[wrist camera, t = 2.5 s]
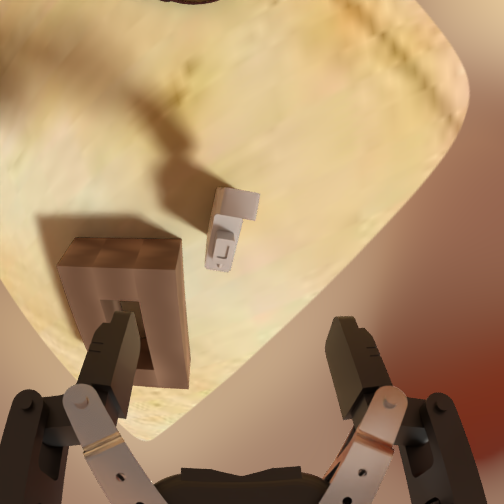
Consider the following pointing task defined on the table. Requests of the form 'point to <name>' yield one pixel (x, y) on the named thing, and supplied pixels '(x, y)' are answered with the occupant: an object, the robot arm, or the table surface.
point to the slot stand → (133, 299)
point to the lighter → (227, 225)
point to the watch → (182, 0)
